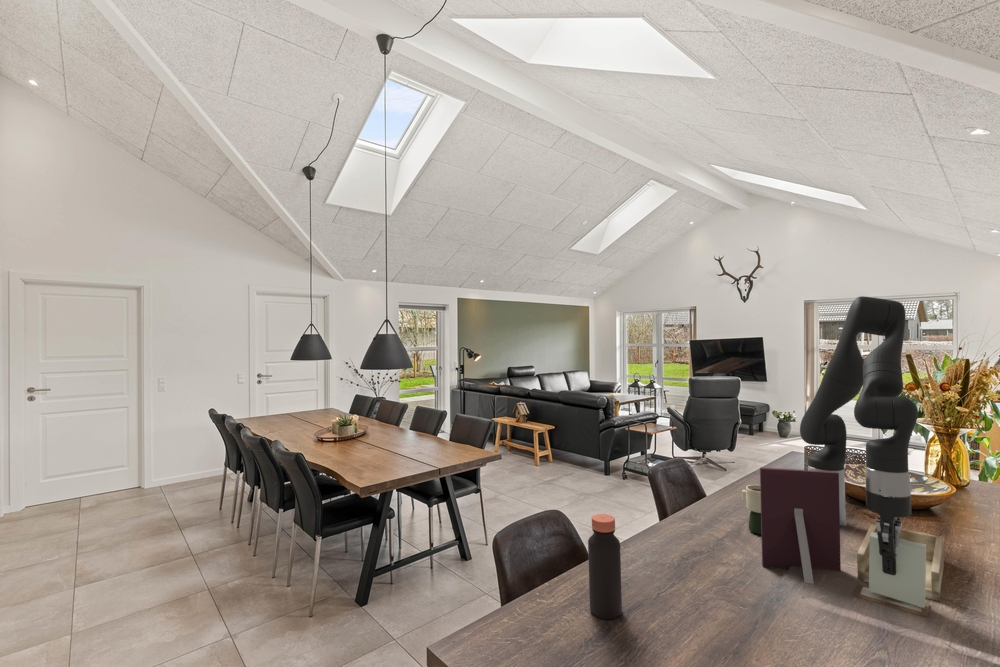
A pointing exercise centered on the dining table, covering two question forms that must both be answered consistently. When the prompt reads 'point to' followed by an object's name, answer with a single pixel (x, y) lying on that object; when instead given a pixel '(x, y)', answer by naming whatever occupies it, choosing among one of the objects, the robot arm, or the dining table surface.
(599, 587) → the bottle
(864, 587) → the board
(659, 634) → the dining table surface
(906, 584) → the pale green slanted prism
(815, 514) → the picture frame
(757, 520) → the character mug
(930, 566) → the tray
